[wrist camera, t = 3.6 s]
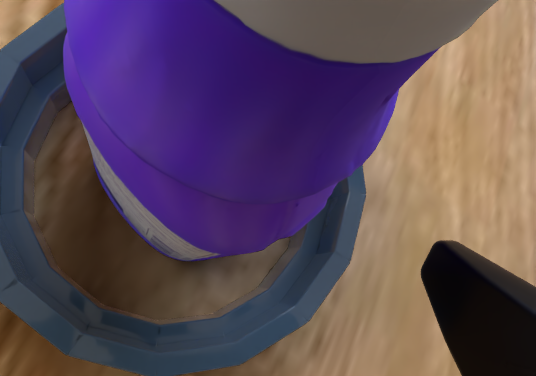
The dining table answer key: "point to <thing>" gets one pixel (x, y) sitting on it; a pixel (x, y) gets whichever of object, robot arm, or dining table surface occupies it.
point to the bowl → (122, 322)
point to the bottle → (240, 106)
